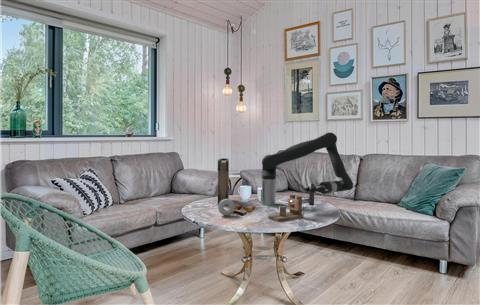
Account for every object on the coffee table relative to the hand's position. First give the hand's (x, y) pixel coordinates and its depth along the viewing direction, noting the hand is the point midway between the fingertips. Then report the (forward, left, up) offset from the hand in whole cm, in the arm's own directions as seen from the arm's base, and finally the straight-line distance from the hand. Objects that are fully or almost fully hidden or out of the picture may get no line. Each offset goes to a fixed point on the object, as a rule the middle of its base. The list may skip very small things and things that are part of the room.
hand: (308, 189), depth 215 cm
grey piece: (0, -5, -10) cm, 11 cm away
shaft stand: (0, -18, -15) cm, 23 cm away
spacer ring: (0, -13, -10) cm, 16 cm away
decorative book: (-57, -24, -15) cm, 63 cm away
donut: (-23, -44, -15) cm, 51 cm away
